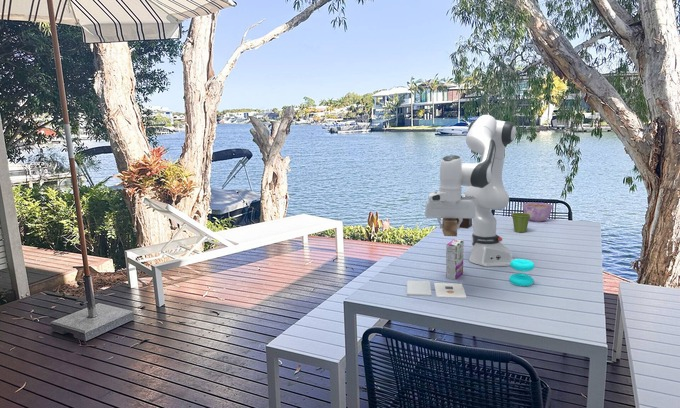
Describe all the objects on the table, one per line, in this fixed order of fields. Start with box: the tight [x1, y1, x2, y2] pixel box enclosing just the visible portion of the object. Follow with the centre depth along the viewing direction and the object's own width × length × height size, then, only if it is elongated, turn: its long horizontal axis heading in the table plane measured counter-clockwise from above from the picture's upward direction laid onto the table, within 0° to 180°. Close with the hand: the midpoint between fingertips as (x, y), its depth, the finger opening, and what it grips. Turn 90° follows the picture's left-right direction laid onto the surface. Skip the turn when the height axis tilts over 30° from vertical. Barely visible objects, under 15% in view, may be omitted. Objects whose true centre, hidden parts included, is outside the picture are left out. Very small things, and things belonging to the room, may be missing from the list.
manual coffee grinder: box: [456, 218, 473, 229], centre depth 302 cm, size 16×11×18 cm
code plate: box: [433, 282, 467, 298], centre depth 188 cm, size 12×16×1 cm
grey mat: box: [406, 280, 433, 297], centre depth 190 cm, size 10×16×1 cm, turn 172°
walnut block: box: [441, 218, 458, 237], centre depth 183 cm, size 5×10×6 cm, turn 172°
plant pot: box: [511, 212, 531, 233], centre depth 286 cm, size 12×12×11 cm
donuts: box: [508, 258, 536, 287], centre depth 194 cm, size 10×10×10 cm
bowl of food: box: [522, 201, 554, 223], centre depth 317 cm, size 20×20×12 cm
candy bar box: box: [445, 238, 465, 280], centre depth 205 cm, size 11×5×16 cm, turn 148°
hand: (449, 228), depth 184 cm, fingers closed on walnut block, 5 cm apart
